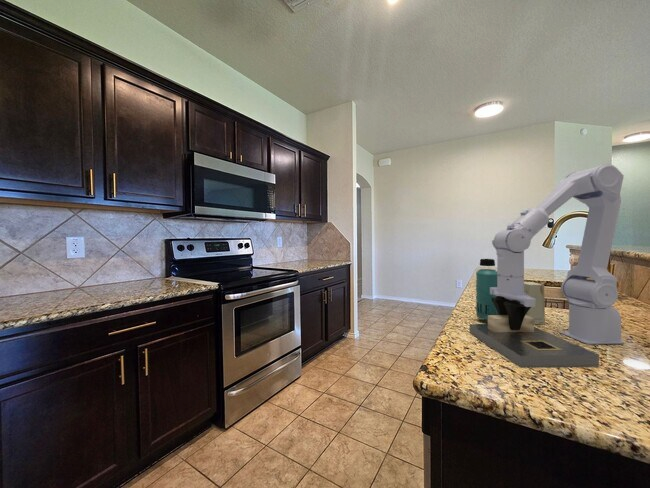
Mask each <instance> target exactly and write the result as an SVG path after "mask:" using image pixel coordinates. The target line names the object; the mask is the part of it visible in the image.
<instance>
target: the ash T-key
mask: <svg viewBox="0 0 650 488" xmlns="http://www.w3.org/2000/svg"><path fill="white" fill-rule="evenodd" d="M487 324H488V329H490V330H492V331H493V332H507V333H516V332H534V327H535V324H534V318H532V317H530V316H527V315H525V317H524V319H523V322H522V325H521V328H520V330H511V329H510V326H509V318H508V315H488V320H487Z"/></svg>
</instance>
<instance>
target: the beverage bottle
mask: <svg viewBox="0 0 650 488" xmlns="http://www.w3.org/2000/svg"><path fill="white" fill-rule="evenodd" d="M479 266H482V267H495V266H496V261H495V259H493V258H481V259H480V261H479ZM475 275H476V277H475V278H476V279H475V281H476V282H475V290H476V291H475V293H476V295H475V313H476V314H475V315H476V317H477V318H479V319H481V320H487V321H488V315H498V312H497V309H496V307H495V305H494V303H493V302H492V298H496V297H497V296H496V295H492V294H490V287H497V269H492V268H481V269H478V270H477V271H476V272H475Z"/></svg>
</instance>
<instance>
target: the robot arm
mask: <svg viewBox="0 0 650 488" xmlns="http://www.w3.org/2000/svg"><path fill="white" fill-rule="evenodd" d="M624 176H625V175H624V174H623V173H622V172H621V171H620V169H619V168H617V166H615V165H613V164H610V163H605V164H604V163H603V164H601V165H600V164H599V165H598V166H594V167H591V168H587V169H583V170H579V171H573V172H570V173H568V174H567V175H565V177H564V178H562V179H560V180H559V182H558V185H557V186H556V187H555V188H554V189H553V190H552V191H551V192H550V193H549V194H548V195H547V196H546V197H544V199H543V200H542V201H541V202H540V203H539V204H538V205H537V206H536V207H535V208H533V207H531V208H527V209H523V210H522V211H520V213H519V214H520V215H519V216H518V217H517V218H516V219H515V220H514V221H513V222H512V223H509V224H507V226H506V229H503V230H499V231H497V233H495V235H494V238H493V240H491V244H492V246H493V248H494V249H495V251H496V258H497V259H496V260H497V263H496V264H497V267H496V271H497V287H490V294H492V295H496V296H497V297H496V298H492V302H493V303H494V305H495V307H496V309H497V312H498V315H508V318H509V326H510V329H511V330H520V328H521V325H522V322H523V319H524V317H525V315H526V313H527V312H528V310H529V309H530V308H531V307H535V299H534V298H532V297H530V296H528V295H526V294H525V293H524V282H525V250H527V249H529V248H530V245H531V241H532V239H533V238H534V237H535V236H536V235H537V234H538V233H539V232H540V231H541V230H543V228H545V227H546V225H548V224H549V223H550V218H549V216H550V215H552V214H553V213H554V212H556V211H557V210H559V209H560V208H561V207H562V206H563V205H564V204H566V203H567V202H568V201H569V200H571V199H572V198H574V199H576V200H577V201H579V202H580V203H582V204H585V205H586V207H588V213H587V217H586V223H585V227H584V232H583V237H582V241H581V246H580V251H579V257H578V261H577V265H576V266H574V267H572V269H570V270H568V271H567V275H566V277H565V279H564V280H563V281H562V283H561V285H560V290H561V293H562V295H563V296H564V297H565V298H566V302H567V303H568V305H569V306H568V330H560V331H559V334H561V335H564V336H567V337H569V338H571V339H574V340H576V341H578V342H581V343H584V344H587V345H607V344H608V345H609V344H610V345H611V344H612V345H613V344H614V345H617V344H619V345H620V344H622V345H623V344H626V343H625V341H624V340H622V316H621V314H620V312H619V310H618V309H617V308H616V307H614V306H613V305H614V304H616V302H617V300H618V298H619V291H618V288H617V287H618V286H617V283H618V278H617V277H616V276H614V275H613V274H612V273H611V272H609V270H608V266H609V262H610V261H609V260H610V256H611V252H612V246H613V241H614V237H615V233H616V228H617V227H616V226H617V223H618V218H619V213H620V208H621V205H622V204H621V203H622V200H621V197H622V196H621V190H622V186H623V181H624Z"/></svg>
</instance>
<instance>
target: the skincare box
mask: <svg viewBox="0 0 650 488" xmlns="http://www.w3.org/2000/svg"><path fill="white" fill-rule="evenodd" d="M524 293H525V294H526V295H528V296H530V297H532V298H534V299H535V307H531V308H530V309H529V310H528V312H527V313H526V315H527V316H530V317H532V318H534V325H541V326H542V325H543V326H544V325H546V320H545V319H546V317H545V310H546V309H545V307H546V305H545V302H546V301H545V284H543V283H537V282H534V281H524Z"/></svg>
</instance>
